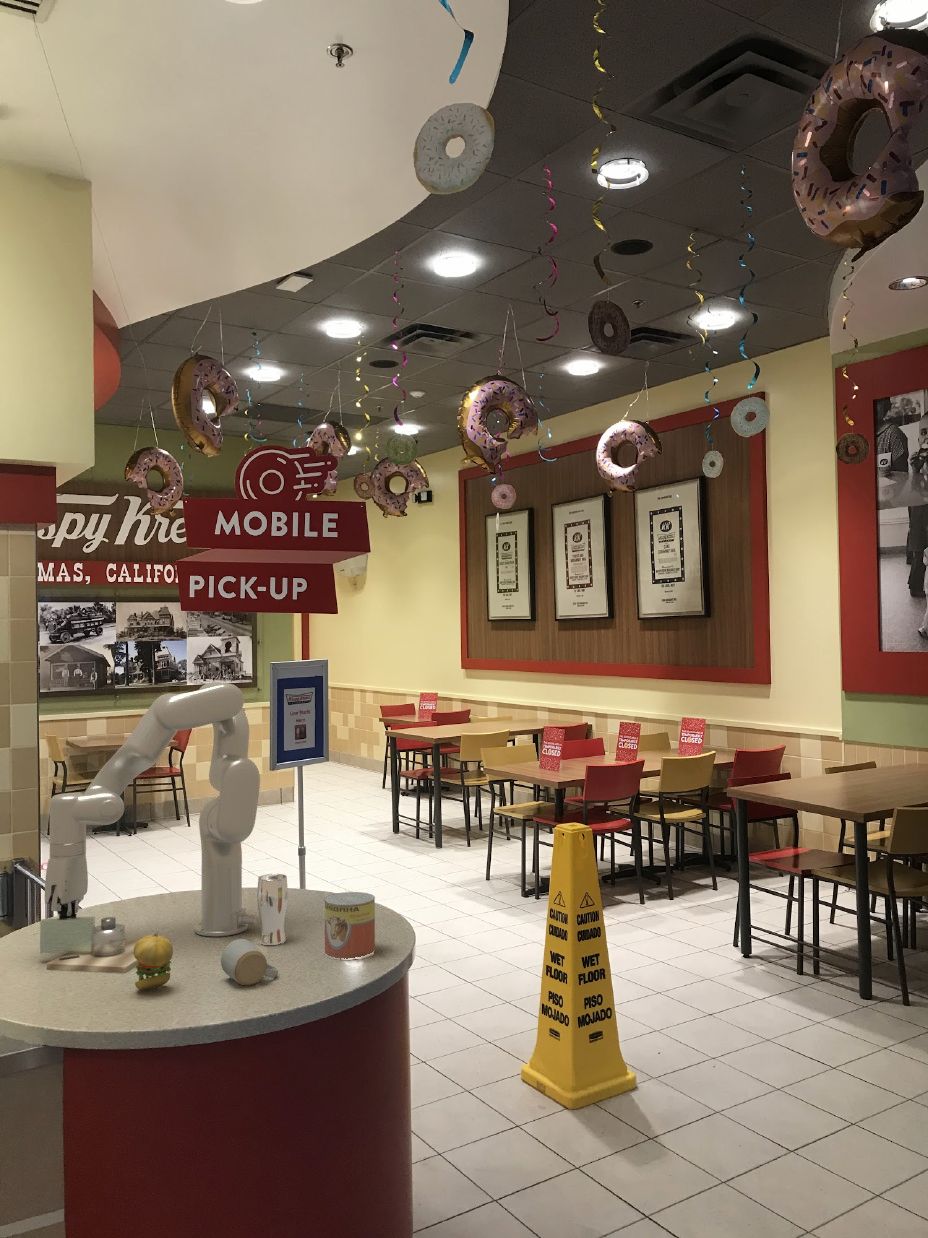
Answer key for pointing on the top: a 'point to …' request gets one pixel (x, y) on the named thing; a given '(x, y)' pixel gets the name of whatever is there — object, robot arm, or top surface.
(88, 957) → the board
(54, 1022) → the top surface
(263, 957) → the ceramic mug
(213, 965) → the top surface
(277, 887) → the beer glass
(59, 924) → the green panel with knob
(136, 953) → the hamburger
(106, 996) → the top surface
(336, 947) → the canned food
